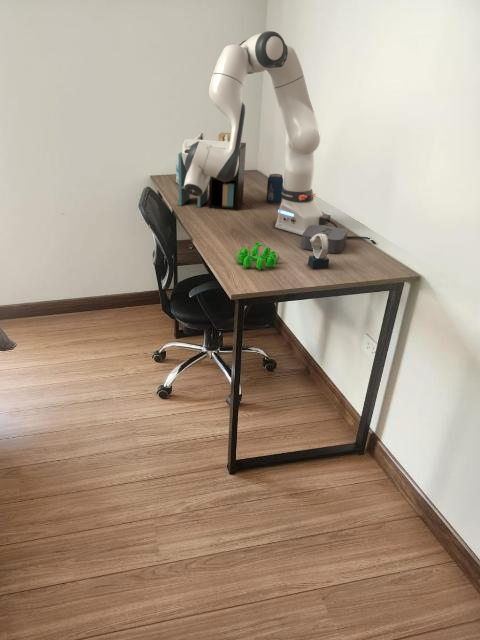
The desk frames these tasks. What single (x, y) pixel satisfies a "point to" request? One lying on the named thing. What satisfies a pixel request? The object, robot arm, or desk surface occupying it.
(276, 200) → the soda can
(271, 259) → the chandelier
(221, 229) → the desk surface
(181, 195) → the stand
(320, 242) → the watch
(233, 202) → the shelf
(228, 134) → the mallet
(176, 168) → the light bulb box
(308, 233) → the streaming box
